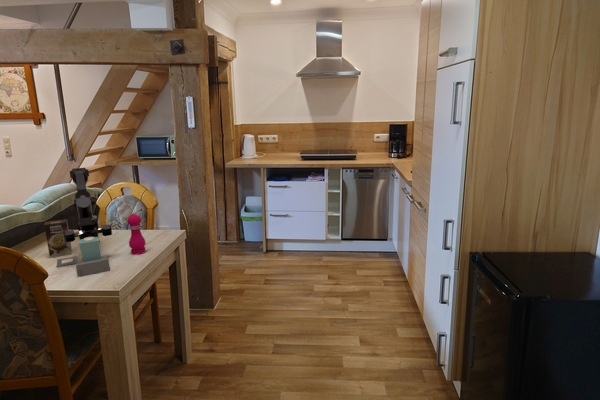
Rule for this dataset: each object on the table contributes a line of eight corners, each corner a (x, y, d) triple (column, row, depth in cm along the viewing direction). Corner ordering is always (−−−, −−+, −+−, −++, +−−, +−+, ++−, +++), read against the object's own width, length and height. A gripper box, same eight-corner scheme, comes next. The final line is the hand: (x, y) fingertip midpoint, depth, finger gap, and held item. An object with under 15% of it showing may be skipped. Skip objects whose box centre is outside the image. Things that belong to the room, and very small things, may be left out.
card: (57, 260, 178) (57, 259, 178) (77, 256, 182) (77, 255, 182) (56, 267, 170) (56, 266, 170) (77, 263, 174) (77, 262, 174)
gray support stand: (77, 268, 169) (75, 257, 167) (108, 262, 174) (106, 251, 173) (77, 277, 159) (75, 265, 158) (110, 270, 165) (108, 259, 164)
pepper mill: (133, 250, 189) (127, 209, 184) (148, 249, 189) (143, 209, 185) (128, 255, 182) (122, 214, 177) (144, 254, 182) (138, 213, 178)
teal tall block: (84, 265, 170) (79, 237, 167) (101, 262, 174) (97, 234, 171) (84, 270, 165) (79, 241, 162) (102, 266, 168) (98, 238, 166)
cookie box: (49, 258, 181) (43, 224, 178) (50, 254, 187) (44, 221, 183) (72, 254, 185) (66, 221, 182) (72, 250, 191) (67, 218, 187)
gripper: (60, 213, 167) (63, 245, 160) (108, 207, 176) (113, 236, 169) (63, 226, 176) (67, 257, 169) (109, 220, 184) (114, 248, 177)
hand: (90, 249), depth 171 cm, fingers closed, pressing on teal tall block
